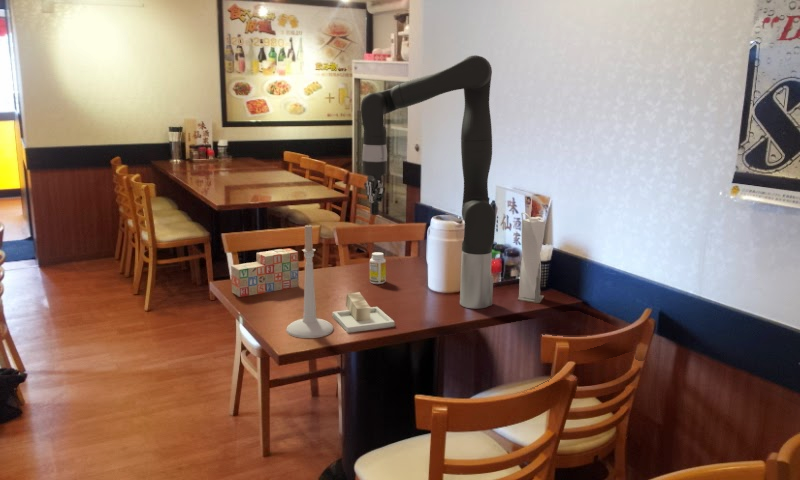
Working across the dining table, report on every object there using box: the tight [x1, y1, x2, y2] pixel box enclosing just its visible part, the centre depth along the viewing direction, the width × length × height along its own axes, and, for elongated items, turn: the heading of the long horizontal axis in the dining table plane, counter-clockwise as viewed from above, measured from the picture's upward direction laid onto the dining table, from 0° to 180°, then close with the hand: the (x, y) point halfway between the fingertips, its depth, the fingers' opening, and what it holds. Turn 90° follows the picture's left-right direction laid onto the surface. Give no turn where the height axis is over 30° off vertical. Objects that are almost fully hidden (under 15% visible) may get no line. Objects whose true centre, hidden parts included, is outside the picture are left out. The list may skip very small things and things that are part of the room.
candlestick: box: [286, 223, 334, 339], centre depth 185 cm, size 13×13×30 cm
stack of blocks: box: [230, 248, 300, 298], centre depth 223 cm, size 21×6×12 cm, turn 127°
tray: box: [332, 306, 396, 333], centre depth 195 cm, size 14×14×2 cm
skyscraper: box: [517, 211, 546, 304], centre depth 216 cm, size 8×8×28 cm
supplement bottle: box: [369, 251, 387, 285], centre depth 233 cm, size 6×6×10 cm
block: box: [345, 291, 371, 321], centre depth 198 cm, size 4×4×10 cm
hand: (374, 214), depth 212 cm, fingers closed
